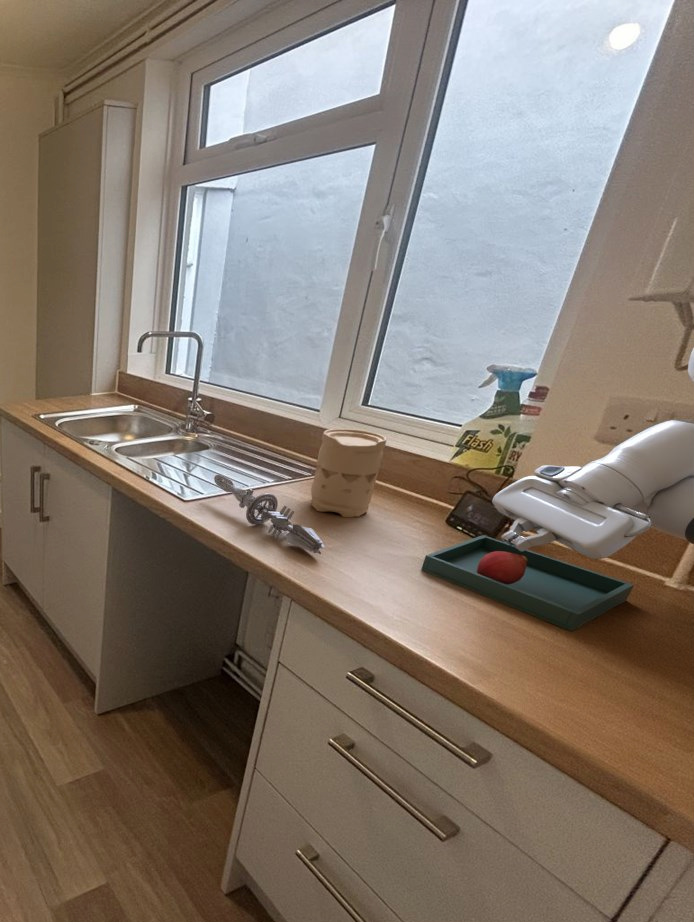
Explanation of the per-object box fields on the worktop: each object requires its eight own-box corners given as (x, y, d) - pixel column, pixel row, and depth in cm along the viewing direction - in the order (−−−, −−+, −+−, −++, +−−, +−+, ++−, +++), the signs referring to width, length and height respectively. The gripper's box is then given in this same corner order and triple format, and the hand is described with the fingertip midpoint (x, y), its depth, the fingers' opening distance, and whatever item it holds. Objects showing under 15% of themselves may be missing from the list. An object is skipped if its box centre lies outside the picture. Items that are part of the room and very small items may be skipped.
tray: (626, 600, 89) (634, 584, 88) (571, 631, 81) (578, 614, 80) (478, 548, 107) (483, 534, 106) (420, 569, 99) (425, 555, 98)
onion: (543, 580, 87) (488, 599, 92) (531, 561, 92) (479, 580, 97) (521, 555, 87) (467, 575, 92) (510, 537, 91) (459, 557, 96)
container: (372, 520, 120) (392, 444, 113) (310, 513, 124) (327, 439, 118) (361, 501, 131) (380, 431, 124) (305, 495, 135) (320, 426, 128)
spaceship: (234, 466, 132) (211, 458, 129) (345, 537, 102) (319, 528, 99) (217, 494, 135) (195, 486, 131) (322, 570, 105) (296, 563, 102)
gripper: (669, 534, 78) (573, 587, 82) (549, 486, 97) (475, 531, 101) (653, 505, 77) (556, 561, 81) (534, 462, 95) (459, 509, 100)
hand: (510, 544), depth 91 cm, fingers closed
